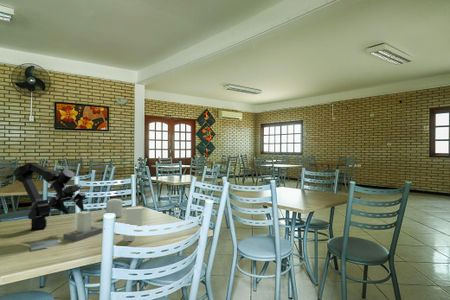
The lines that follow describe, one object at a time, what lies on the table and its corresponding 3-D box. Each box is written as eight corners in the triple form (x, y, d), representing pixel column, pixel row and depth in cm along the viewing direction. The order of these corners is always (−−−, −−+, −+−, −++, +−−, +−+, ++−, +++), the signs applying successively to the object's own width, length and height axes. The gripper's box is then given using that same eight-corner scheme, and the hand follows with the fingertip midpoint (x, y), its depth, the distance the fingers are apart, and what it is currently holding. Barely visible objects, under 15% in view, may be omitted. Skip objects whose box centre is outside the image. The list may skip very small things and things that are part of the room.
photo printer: (121, 215, 188) (121, 197, 189) (122, 217, 185) (123, 198, 185) (105, 217, 183) (105, 199, 183) (106, 218, 179) (106, 200, 179)
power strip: (76, 242, 132) (76, 235, 132) (63, 240, 136) (63, 232, 136) (102, 233, 147) (102, 227, 147) (89, 231, 151) (90, 225, 151)
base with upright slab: (127, 231, 151) (127, 210, 152) (124, 227, 159) (125, 207, 160) (143, 230, 156) (144, 209, 156) (140, 226, 164) (141, 206, 164)
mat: (30, 251, 120) (31, 249, 120) (29, 244, 128) (29, 243, 128) (59, 246, 127) (59, 245, 127) (56, 240, 135) (56, 238, 135)
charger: (84, 237, 139) (84, 213, 139) (76, 236, 140) (77, 212, 141) (90, 235, 142) (91, 212, 142) (83, 233, 144) (84, 211, 144)
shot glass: (124, 238, 141) (124, 224, 141) (137, 237, 141) (138, 224, 141) (120, 242, 134) (120, 228, 134) (134, 242, 134) (135, 228, 135)
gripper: (52, 181, 137) (67, 204, 133) (84, 178, 155) (98, 199, 150) (41, 195, 140) (56, 219, 136) (73, 191, 157) (87, 212, 153)
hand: (75, 211), depth 144 cm, fingers open, 9 cm apart
